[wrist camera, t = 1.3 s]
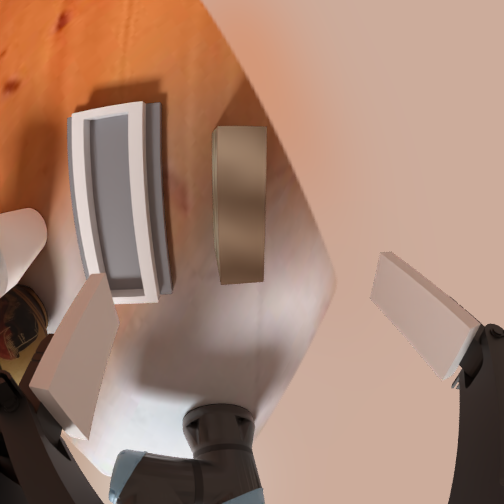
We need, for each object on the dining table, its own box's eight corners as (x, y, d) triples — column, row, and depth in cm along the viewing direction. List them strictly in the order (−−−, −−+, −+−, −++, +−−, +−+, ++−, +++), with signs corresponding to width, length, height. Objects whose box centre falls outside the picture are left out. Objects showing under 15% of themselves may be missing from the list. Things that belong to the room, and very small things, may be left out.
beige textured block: (244, 242, 36) (263, 281, 26) (214, 244, 35) (221, 284, 25) (245, 133, 31) (266, 126, 21) (211, 133, 30) (217, 126, 20)
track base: (172, 288, 36) (171, 301, 33) (94, 291, 34) (86, 304, 31) (161, 104, 27) (157, 99, 24) (72, 118, 25) (60, 116, 22)
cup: (41, 189, 27) (-12, 211, 17) (63, 249, 31) (21, 291, 20) (3, 212, 27) (-47, 239, 16) (24, 266, 30) (-17, 306, 19)
